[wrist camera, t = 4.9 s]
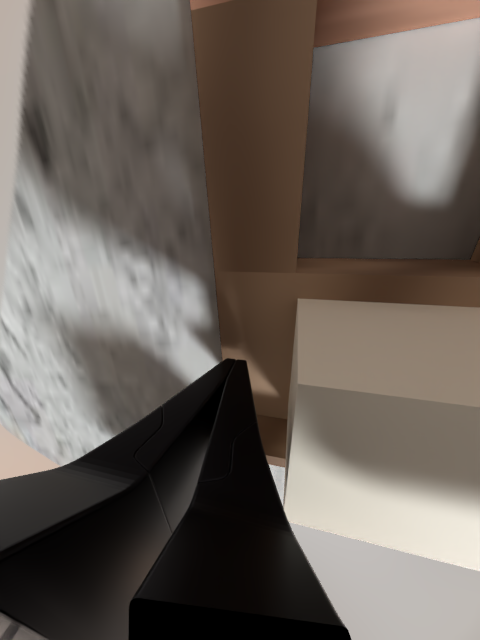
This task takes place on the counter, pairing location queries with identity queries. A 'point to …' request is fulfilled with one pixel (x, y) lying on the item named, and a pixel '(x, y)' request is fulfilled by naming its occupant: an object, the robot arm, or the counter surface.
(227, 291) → the tray
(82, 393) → the counter surface
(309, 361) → the cream block
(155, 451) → the robot arm
